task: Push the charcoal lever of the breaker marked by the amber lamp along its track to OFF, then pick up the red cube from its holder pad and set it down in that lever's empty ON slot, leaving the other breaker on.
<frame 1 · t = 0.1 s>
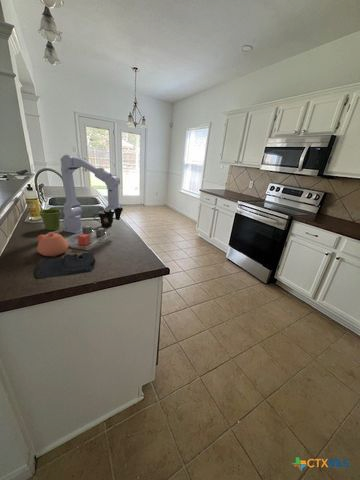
hand: (114, 221, 117), 10 cm above the countertop, tool pointing down, fingers open, 7 cm apart
dark slate chunk: (67, 267, 85), on the countertop
red cube: (84, 243, 105), point 2 cm above the countertop, touching breaker panel
breaker panel: (87, 239, 113), on the countertop
plant pot: (52, 229, 126), on the countertop
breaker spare: (86, 229, 119), point 3 cm above the countertop, slide at 0.0 cm
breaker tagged: (100, 232, 117), point 4 cm above the countertop, slide at 0.0 cm
coffee mug: (104, 226, 138), on the countertop
sugar bowl: (52, 253, 96), on the countertop
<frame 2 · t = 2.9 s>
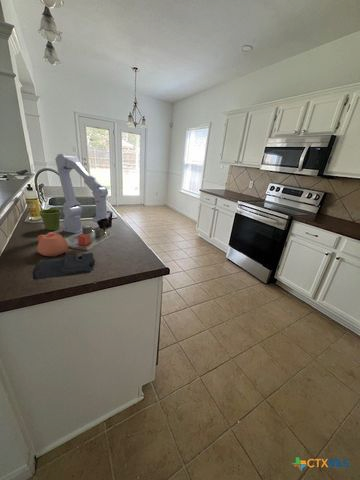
hand: (102, 231, 119), 3 cm above the countertop, tool pointing down, fingers closed
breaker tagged: (99, 232, 116), point 4 cm above the countertop, slide at 0.9 cm, touching gripper
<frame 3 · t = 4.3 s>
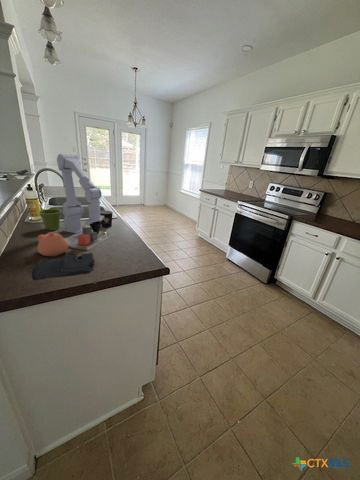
hand: (96, 234, 113), 3 cm above the countertop, tool pointing down, fingers closed
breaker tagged: (92, 235, 110), point 4 cm above the countertop, slide at 7.1 cm, touching gripper
everything else where it was.
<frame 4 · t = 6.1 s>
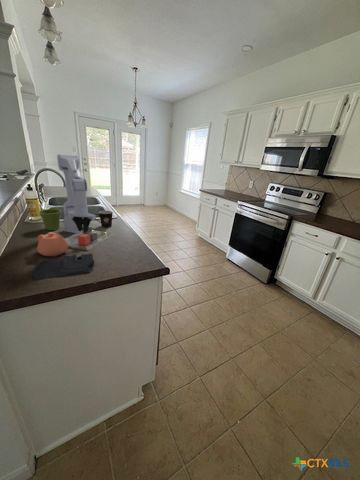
hand: (83, 231, 102), 8 cm above the countertop, tool pointing down, fingers open, 3 cm apart
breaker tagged: (92, 235, 110), point 3 cm above the countertop, slide at 7.2 cm
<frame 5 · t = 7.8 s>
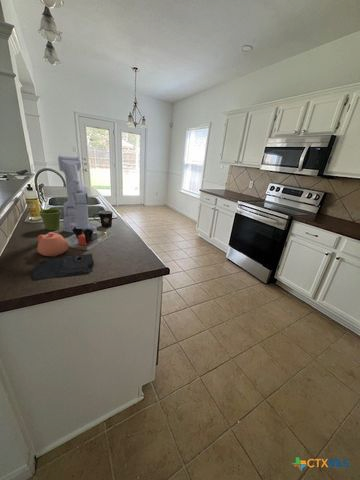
hand: (84, 242, 104), 2 cm above the countertop, tool pointing down, fingers closed on red cube, 4 cm apart
red cube: (84, 243, 105), point 2 cm above the countertop, touching breaker panel, gripper
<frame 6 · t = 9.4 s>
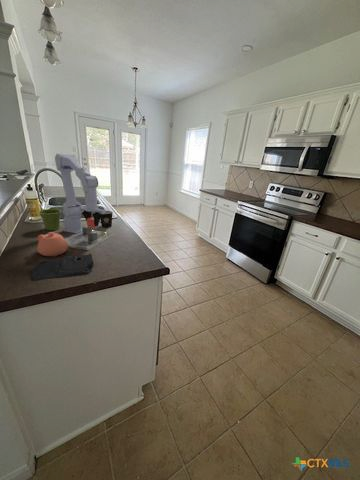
hand: (93, 225, 109), 9 cm above the countertop, tool pointing down, fingers closed on red cube, 4 cm apart
red cube: (93, 226, 109), point 8 cm above the countertop, touching gripper
when the fingers open (3 cm above the countertop, at t = 11.4 s): red cube stays where it is, resting on breaker panel.
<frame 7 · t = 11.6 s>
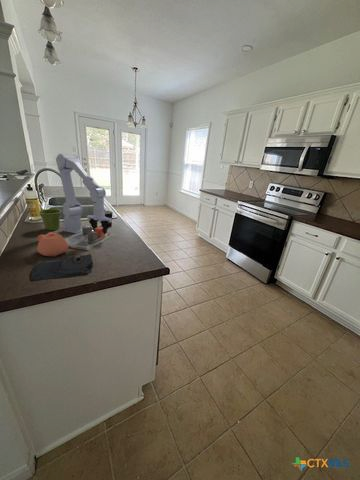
hand: (100, 232, 117), 3 cm above the countertop, tool pointing down, fingers open, 6 cm apart
red cube: (100, 235, 117), point 2 cm above the countertop, touching breaker panel
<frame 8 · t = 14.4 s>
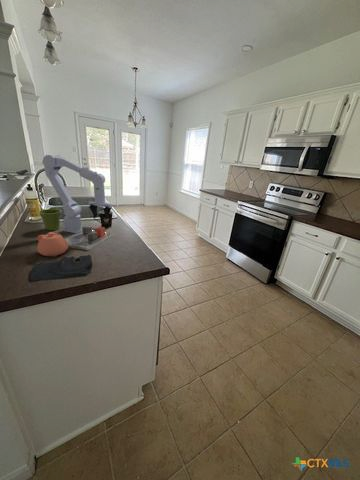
hand: (101, 218, 123), 9 cm above the countertop, tool pointing down, fingers open, 7 cm apart
at the end: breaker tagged slide at 7.2 cm; red cube 0.3 cm from the target spot on the breaker panel, point 1.6 cm above the breaker panel's base; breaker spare slide at 0.0 cm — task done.
